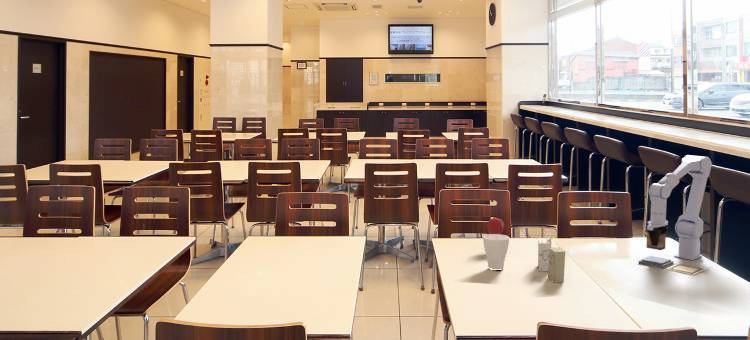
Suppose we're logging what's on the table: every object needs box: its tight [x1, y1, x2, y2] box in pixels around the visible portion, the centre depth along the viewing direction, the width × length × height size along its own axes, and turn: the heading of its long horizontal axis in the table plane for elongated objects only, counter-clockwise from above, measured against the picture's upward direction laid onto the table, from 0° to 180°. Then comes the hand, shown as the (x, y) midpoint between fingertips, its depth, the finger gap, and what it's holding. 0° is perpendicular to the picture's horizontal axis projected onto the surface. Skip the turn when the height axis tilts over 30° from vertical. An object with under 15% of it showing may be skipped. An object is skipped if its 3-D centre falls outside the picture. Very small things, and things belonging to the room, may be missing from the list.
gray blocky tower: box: [537, 231, 552, 272], centre depth 251 cm, size 9×5×15 cm, turn 168°
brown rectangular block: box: [646, 233, 667, 251], centre depth 257 cm, size 4×6×6 cm, turn 41°
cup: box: [482, 233, 510, 270], centre depth 251 cm, size 10×10×14 cm
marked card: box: [665, 263, 706, 276], centre depth 249 cm, size 11×11×1 cm
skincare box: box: [547, 247, 566, 283], centre depth 236 cm, size 6×4×12 cm
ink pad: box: [638, 255, 674, 269], centre depth 257 cm, size 10×10×2 cm
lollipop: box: [486, 217, 505, 235], centre depth 281 cm, size 8×8×15 cm
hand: (656, 244), depth 257 cm, fingers closed on brown rectangular block, 4 cm apart
